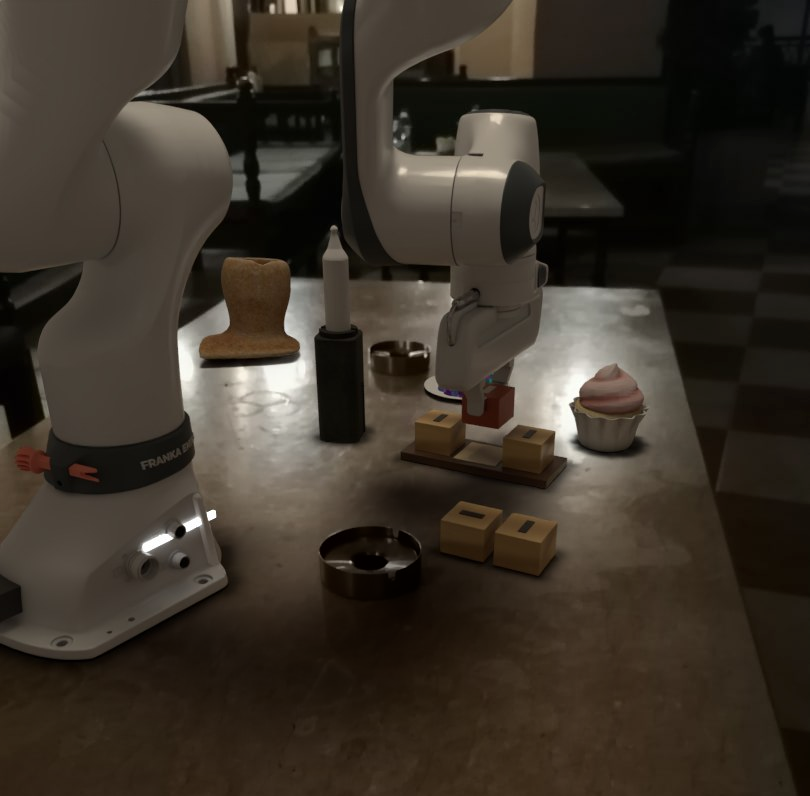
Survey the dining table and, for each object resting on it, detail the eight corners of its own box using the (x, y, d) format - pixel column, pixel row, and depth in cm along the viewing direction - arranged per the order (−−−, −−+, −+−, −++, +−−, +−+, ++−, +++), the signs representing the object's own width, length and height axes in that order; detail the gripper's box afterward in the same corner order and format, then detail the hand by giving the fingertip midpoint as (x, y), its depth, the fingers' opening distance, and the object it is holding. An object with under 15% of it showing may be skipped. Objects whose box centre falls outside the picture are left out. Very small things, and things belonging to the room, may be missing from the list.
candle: (357, 443, 110) (350, 230, 98) (317, 440, 111) (305, 229, 99) (367, 428, 115) (361, 222, 103) (328, 425, 116) (318, 221, 104)
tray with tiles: (545, 489, 99) (548, 450, 97) (400, 459, 106) (399, 422, 104) (566, 465, 104) (570, 428, 102) (426, 438, 112) (427, 403, 109)
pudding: (492, 372, 134) (493, 337, 131) (522, 399, 123) (524, 362, 121) (414, 380, 131) (413, 344, 128) (438, 408, 121) (438, 370, 118)
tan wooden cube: (538, 576, 83) (541, 541, 81) (492, 565, 85) (494, 531, 83) (555, 554, 86) (557, 521, 84) (511, 544, 88) (512, 511, 86)
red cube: (498, 429, 99) (499, 398, 98) (461, 423, 101) (461, 392, 100) (514, 416, 103) (515, 386, 101) (477, 410, 105) (478, 380, 103)
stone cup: (299, 341, 148) (293, 247, 141) (300, 364, 138) (294, 263, 131) (206, 345, 147) (195, 250, 140) (199, 368, 136) (187, 266, 129)
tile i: (483, 562, 85) (484, 528, 83) (440, 551, 87) (440, 518, 85) (501, 542, 88) (503, 509, 87) (459, 532, 90) (460, 499, 89)
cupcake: (624, 464, 104) (634, 381, 99) (552, 446, 109) (558, 365, 104) (657, 439, 111) (668, 360, 106) (588, 423, 116) (596, 346, 111)
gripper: (478, 305, 85) (475, 442, 92) (554, 264, 101) (546, 383, 108) (419, 298, 88) (420, 431, 95) (502, 259, 104) (497, 375, 110)
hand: (488, 405), depth 101 cm, fingers closed on red cube, 4 cm apart
